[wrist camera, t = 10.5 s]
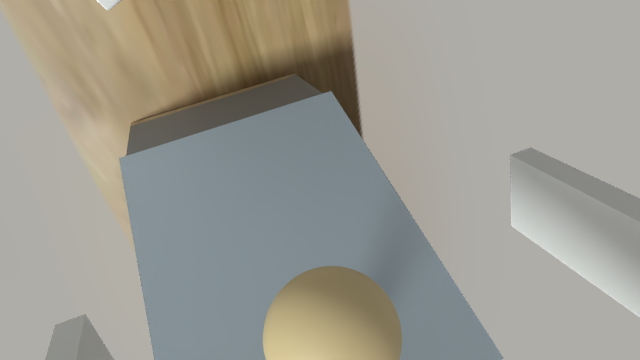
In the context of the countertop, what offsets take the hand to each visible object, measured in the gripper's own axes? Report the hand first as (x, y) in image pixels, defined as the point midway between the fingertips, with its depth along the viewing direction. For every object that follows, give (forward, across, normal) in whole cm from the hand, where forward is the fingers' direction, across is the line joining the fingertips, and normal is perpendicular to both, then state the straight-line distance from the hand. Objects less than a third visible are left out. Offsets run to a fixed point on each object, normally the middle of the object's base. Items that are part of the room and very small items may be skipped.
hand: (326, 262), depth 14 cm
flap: (+13, 0, -8) cm, 15 cm away
